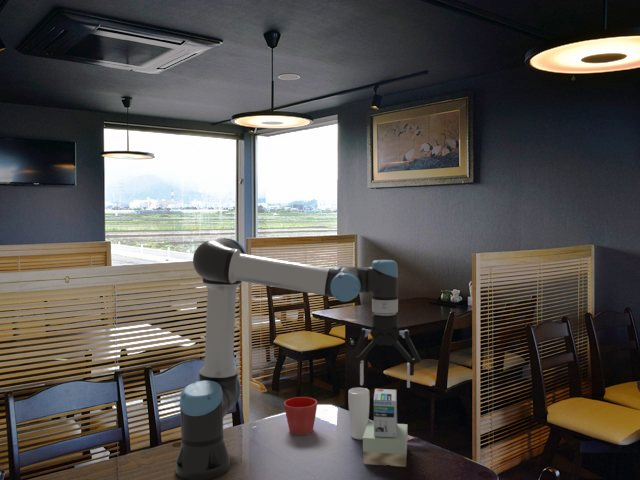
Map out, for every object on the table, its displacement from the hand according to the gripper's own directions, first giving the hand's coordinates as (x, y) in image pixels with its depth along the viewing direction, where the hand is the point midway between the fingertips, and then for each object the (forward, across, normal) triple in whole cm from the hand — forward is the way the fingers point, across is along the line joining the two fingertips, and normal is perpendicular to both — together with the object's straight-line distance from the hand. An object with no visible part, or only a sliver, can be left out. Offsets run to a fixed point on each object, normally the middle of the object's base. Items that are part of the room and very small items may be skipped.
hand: (385, 385), depth 161 cm
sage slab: (+18, 0, 0) cm, 18 cm away
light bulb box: (+14, 0, 0) cm, 14 cm away
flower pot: (+22, -28, +15) cm, 39 cm away
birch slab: (+22, 0, 0) cm, 22 cm away
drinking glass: (+21, -9, +12) cm, 26 cm away
